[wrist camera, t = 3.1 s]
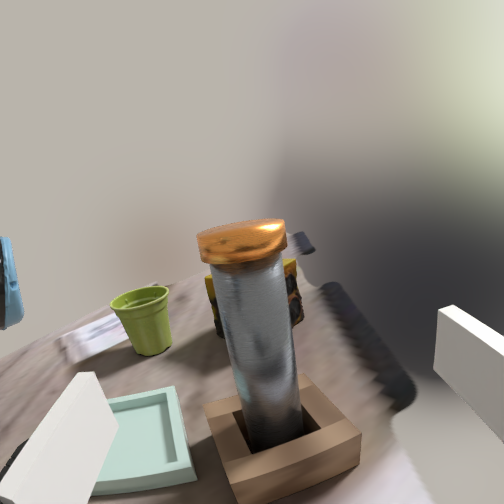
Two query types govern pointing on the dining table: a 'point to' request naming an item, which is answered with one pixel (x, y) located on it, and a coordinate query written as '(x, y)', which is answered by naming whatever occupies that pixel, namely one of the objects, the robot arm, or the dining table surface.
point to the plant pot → (145, 318)
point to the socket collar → (284, 448)
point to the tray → (146, 445)
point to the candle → (292, 295)
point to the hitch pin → (257, 325)
